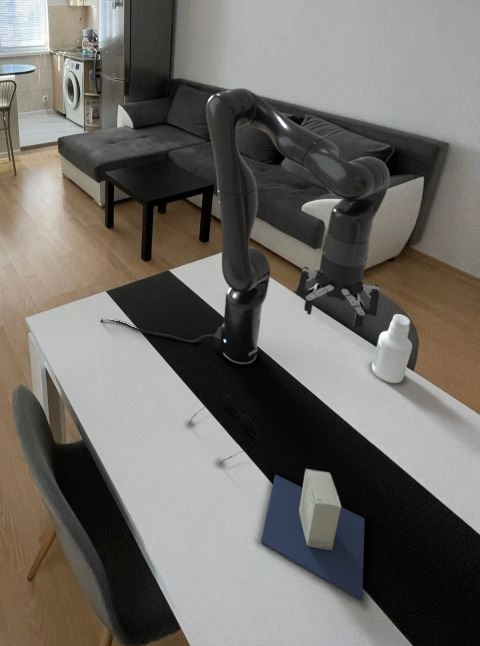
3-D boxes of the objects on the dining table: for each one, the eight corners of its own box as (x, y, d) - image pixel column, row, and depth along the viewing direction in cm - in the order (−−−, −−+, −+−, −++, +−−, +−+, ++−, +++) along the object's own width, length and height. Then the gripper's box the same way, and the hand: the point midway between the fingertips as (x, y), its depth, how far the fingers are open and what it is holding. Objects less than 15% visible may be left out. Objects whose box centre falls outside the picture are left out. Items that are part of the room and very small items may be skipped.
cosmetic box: (332, 551, 77) (343, 509, 73) (305, 546, 78) (315, 504, 74) (321, 513, 83) (331, 472, 79) (296, 508, 84) (305, 467, 80)
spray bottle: (398, 365, 114) (413, 312, 108) (406, 386, 108) (423, 331, 102) (368, 360, 116) (381, 307, 110) (375, 380, 110) (389, 325, 104)
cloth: (260, 542, 80) (260, 541, 80) (275, 475, 91) (275, 474, 90) (361, 601, 71) (362, 600, 71) (364, 519, 82) (364, 518, 82)
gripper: (387, 254, 84) (371, 319, 90) (306, 236, 91) (297, 298, 97) (388, 274, 78) (371, 342, 84) (301, 254, 86) (292, 318, 92)
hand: (331, 318), depth 91 cm, fingers open, 8 cm apart
